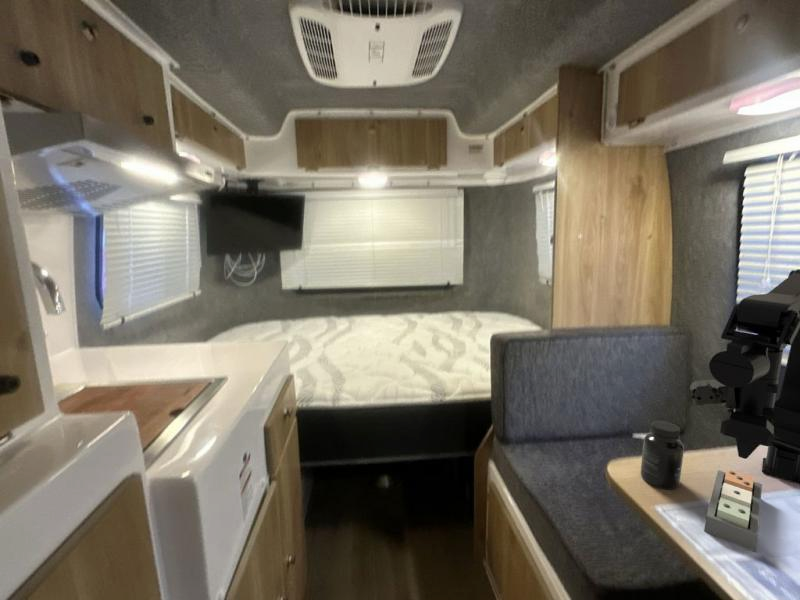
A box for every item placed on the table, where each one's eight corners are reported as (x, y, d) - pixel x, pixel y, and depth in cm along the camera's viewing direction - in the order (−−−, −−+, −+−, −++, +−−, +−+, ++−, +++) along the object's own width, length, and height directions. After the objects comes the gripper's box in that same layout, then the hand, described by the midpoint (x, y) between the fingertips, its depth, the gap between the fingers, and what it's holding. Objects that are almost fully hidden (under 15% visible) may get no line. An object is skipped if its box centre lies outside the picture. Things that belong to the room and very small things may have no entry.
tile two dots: (718, 510, 71) (720, 497, 71) (748, 521, 69) (750, 507, 68) (715, 522, 69) (717, 508, 68) (746, 534, 66) (748, 520, 65)
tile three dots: (725, 480, 79) (726, 468, 79) (751, 489, 77) (753, 477, 76) (722, 490, 76) (724, 478, 76) (750, 500, 74) (752, 487, 73)
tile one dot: (721, 494, 75) (723, 482, 75) (750, 504, 73) (752, 491, 72) (719, 505, 73) (721, 492, 72) (748, 516, 70) (750, 503, 69)
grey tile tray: (716, 483, 81) (718, 470, 81) (759, 498, 77) (762, 484, 76) (704, 531, 69) (706, 515, 69) (755, 551, 65) (757, 535, 64)
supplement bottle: (686, 492, 79) (693, 436, 77) (647, 488, 80) (653, 433, 78) (670, 471, 85) (676, 419, 83) (635, 468, 87) (640, 416, 84)
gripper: (704, 350, 80) (694, 422, 83) (688, 377, 67) (677, 463, 70) (781, 362, 72) (767, 441, 75) (780, 396, 59) (764, 491, 62)
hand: (742, 457), depth 71 cm, fingers closed
